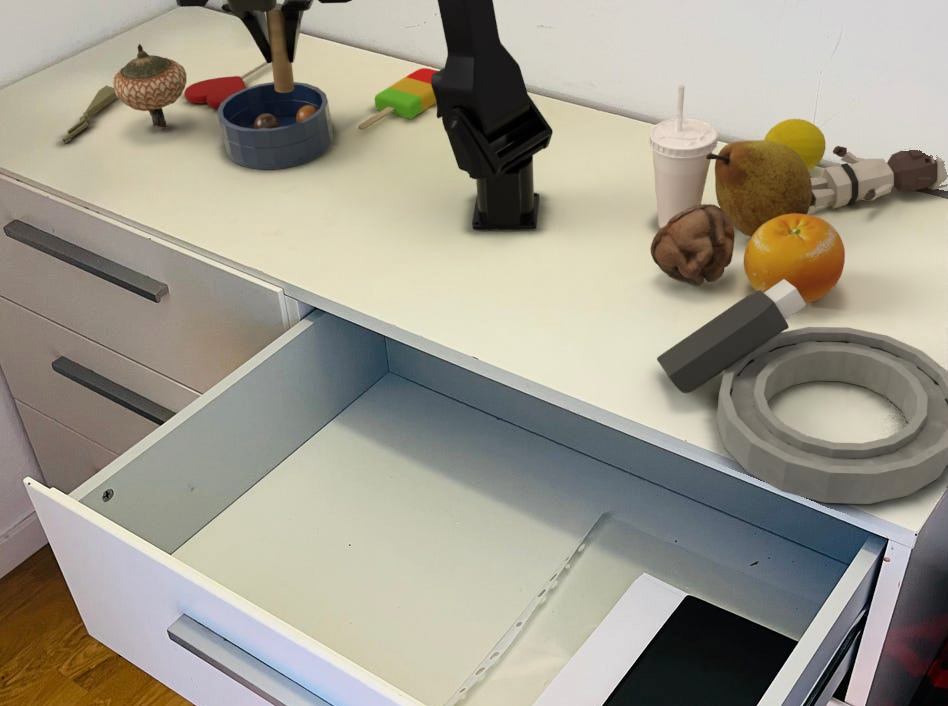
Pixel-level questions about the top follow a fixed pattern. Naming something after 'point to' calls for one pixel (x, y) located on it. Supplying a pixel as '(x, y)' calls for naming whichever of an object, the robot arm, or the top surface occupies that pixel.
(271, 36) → the stick
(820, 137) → the fruit
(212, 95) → the lollipop
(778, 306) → the usb drive
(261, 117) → the bead
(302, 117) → the bead
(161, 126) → the acorn
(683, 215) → the brown walnut half
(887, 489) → the mechanical component
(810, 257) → the fruit
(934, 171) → the toy
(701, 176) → the smoothie
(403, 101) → the popsicle
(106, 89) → the olive green tapered piece
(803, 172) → the fruit
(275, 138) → the bowl
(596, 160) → the top surface
